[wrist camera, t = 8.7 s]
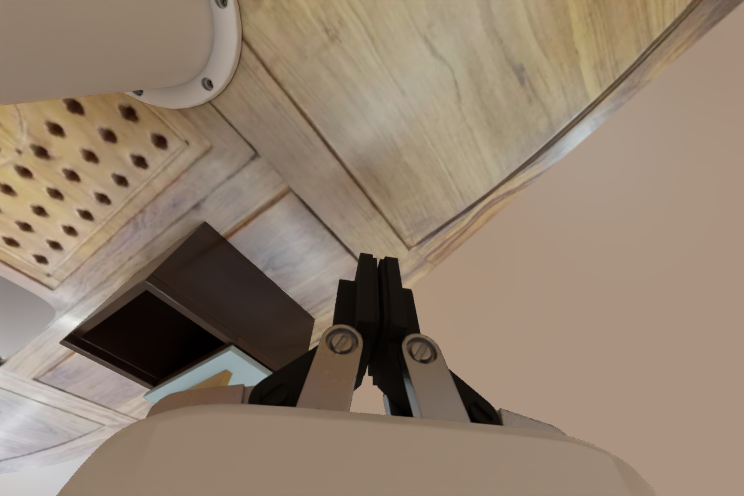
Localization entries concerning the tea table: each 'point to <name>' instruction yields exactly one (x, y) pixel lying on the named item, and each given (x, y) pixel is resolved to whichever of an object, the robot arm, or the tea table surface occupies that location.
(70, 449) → the tea table surface
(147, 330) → the tea box
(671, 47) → the tea table surface
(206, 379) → the light blue lid
